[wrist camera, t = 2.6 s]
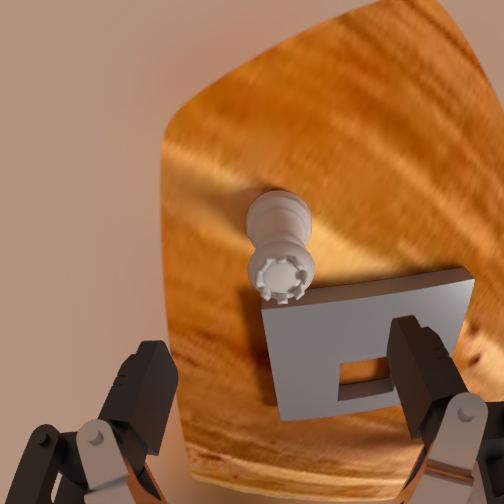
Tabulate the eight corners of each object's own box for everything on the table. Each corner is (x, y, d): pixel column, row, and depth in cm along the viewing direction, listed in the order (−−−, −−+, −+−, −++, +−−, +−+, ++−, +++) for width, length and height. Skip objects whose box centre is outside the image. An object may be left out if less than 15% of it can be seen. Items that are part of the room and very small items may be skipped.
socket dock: (464, 266, 22) (475, 278, 20) (429, 382, 29) (434, 395, 27) (261, 294, 24) (261, 309, 22) (280, 407, 31) (280, 421, 29)
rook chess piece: (322, 225, 21) (347, 289, 14) (271, 259, 22) (271, 333, 15) (285, 175, 19) (294, 217, 12) (232, 213, 21) (212, 273, 14)
